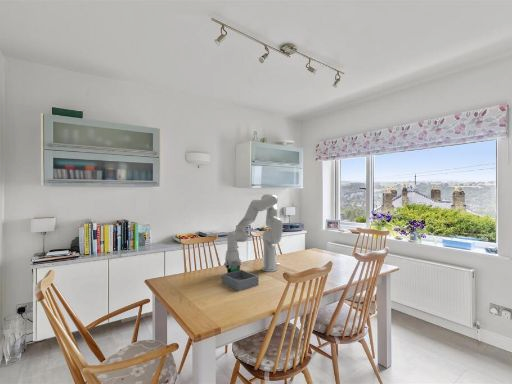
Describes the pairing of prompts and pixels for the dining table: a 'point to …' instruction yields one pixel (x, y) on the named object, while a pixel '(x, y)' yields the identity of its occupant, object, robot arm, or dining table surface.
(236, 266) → the food container
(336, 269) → the dining table surface
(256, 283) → the crate
